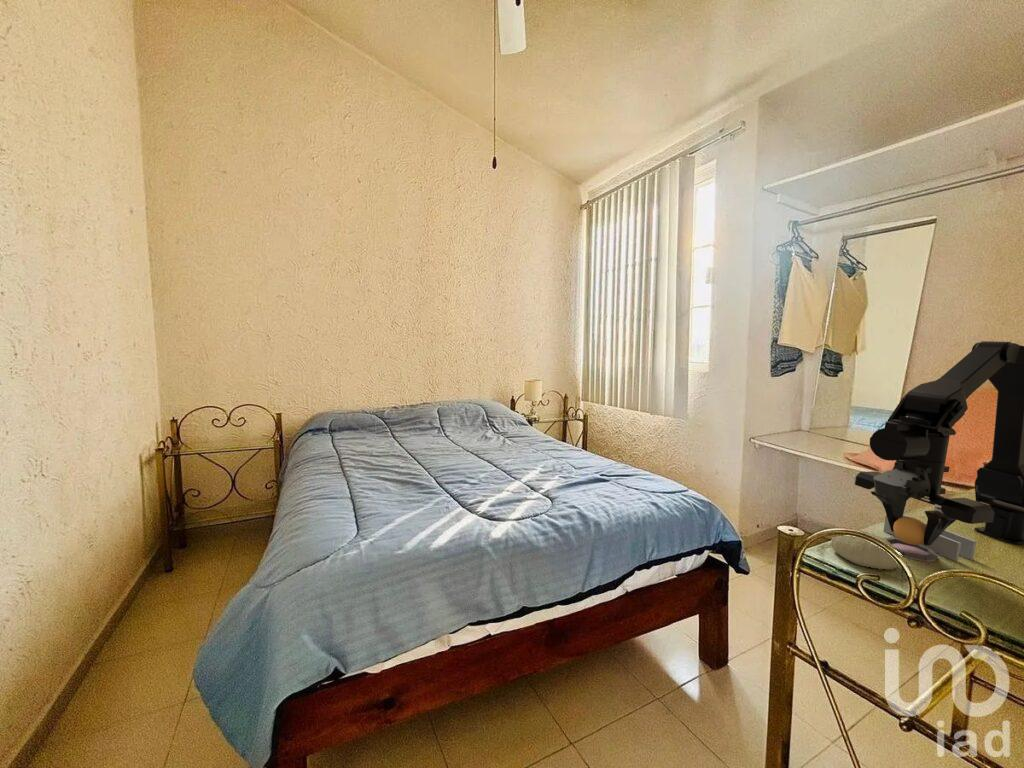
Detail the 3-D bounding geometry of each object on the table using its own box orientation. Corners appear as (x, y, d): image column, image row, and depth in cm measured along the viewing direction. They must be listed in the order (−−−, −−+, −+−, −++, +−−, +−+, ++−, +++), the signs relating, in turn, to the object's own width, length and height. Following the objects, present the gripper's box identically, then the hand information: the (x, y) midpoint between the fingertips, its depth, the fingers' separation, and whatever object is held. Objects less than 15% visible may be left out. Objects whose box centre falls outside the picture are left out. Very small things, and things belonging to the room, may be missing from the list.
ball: (903, 536, 82) (907, 511, 81) (934, 548, 77) (939, 523, 77) (884, 537, 81) (888, 513, 80) (914, 550, 76) (919, 524, 75)
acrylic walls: (899, 529, 89) (902, 513, 88) (973, 559, 77) (976, 541, 77) (883, 531, 88) (885, 515, 87) (955, 561, 76) (958, 543, 76)
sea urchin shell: (846, 532, 82) (885, 516, 76) (875, 574, 77) (919, 561, 71) (815, 538, 78) (853, 522, 73) (843, 582, 74) (886, 570, 68)
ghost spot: (900, 539, 84) (900, 536, 84) (947, 559, 76) (947, 555, 76) (871, 542, 82) (871, 538, 82) (916, 563, 75) (917, 559, 74)
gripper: (839, 445, 84) (828, 519, 86) (956, 476, 66) (939, 569, 68) (880, 444, 87) (869, 516, 89) (1004, 474, 69) (987, 563, 71)
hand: (910, 538), depth 79 cm, fingers closed on ball, 5 cm apart
